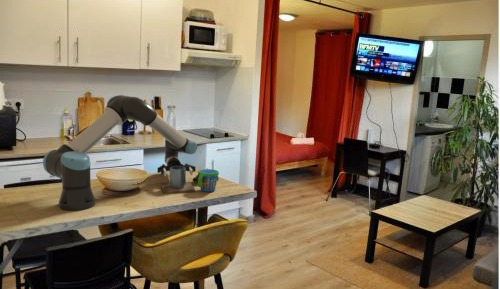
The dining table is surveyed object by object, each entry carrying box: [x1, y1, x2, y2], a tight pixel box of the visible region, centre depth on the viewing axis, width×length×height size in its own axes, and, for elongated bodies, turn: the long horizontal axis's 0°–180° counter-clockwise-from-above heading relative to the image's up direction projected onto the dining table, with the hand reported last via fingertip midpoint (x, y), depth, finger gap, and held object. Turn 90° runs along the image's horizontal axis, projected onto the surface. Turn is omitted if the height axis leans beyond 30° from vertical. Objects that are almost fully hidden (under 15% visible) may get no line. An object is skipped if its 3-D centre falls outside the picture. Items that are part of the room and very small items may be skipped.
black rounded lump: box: [192, 168, 209, 183], centre depth 230 cm, size 11×9×10 cm
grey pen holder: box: [169, 166, 187, 189], centre depth 215 cm, size 8×8×10 cm
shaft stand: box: [160, 181, 196, 195], centre depth 216 cm, size 16×16×6 cm
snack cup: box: [197, 168, 220, 193], centre depth 214 cm, size 16×10×10 cm
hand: (178, 173), depth 214 cm, fingers open, 13 cm apart
